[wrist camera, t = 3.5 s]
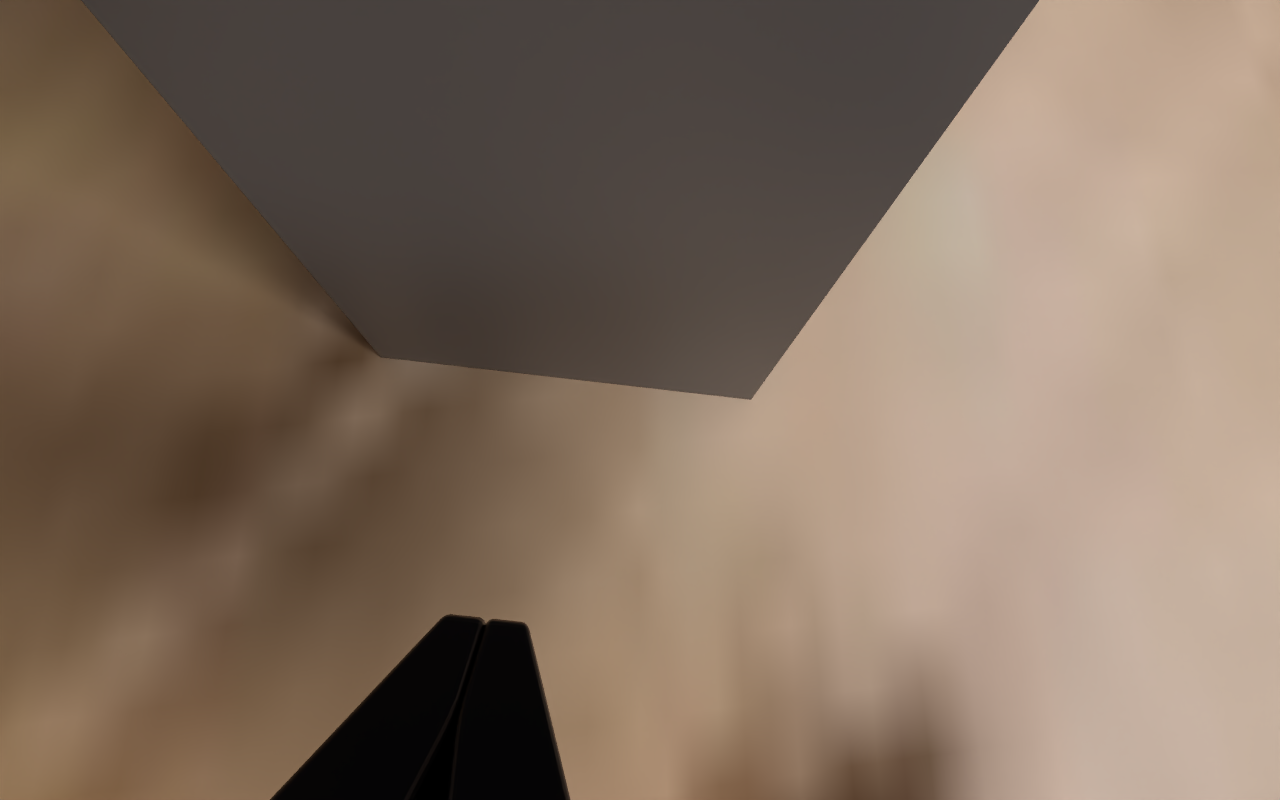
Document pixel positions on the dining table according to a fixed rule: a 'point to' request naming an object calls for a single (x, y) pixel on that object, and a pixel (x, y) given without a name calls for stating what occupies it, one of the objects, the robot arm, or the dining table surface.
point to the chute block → (571, 161)
